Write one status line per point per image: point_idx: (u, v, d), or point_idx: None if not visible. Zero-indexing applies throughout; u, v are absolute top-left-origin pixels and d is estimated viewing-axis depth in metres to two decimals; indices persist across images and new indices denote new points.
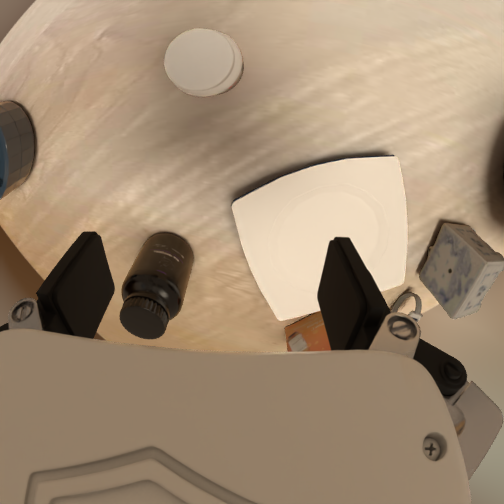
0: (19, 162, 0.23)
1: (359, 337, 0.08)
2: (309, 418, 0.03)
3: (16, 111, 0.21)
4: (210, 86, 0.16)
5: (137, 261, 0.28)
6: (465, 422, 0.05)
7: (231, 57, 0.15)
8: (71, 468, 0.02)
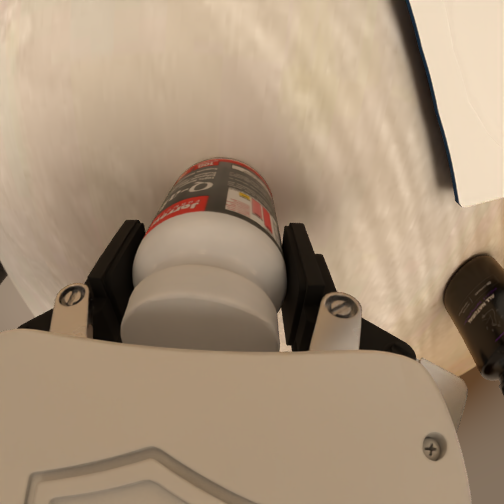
0: None
1: (302, 316, 0.08)
2: (309, 418, 0.03)
3: None
4: (272, 336, 0.07)
5: (469, 347, 0.16)
6: None
7: (187, 298, 0.06)
8: (71, 468, 0.02)
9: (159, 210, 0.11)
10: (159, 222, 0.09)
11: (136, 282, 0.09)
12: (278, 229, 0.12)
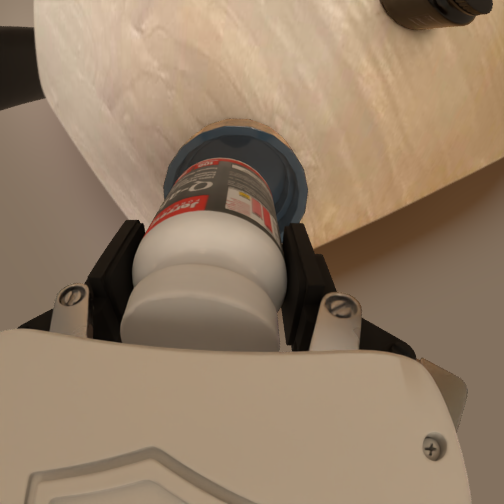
0: (262, 127, 0.23)
1: (302, 316, 0.08)
2: (309, 418, 0.03)
3: (194, 135, 0.25)
4: (272, 335, 0.07)
5: None
6: None
7: (187, 298, 0.06)
8: (71, 468, 0.02)
9: (159, 209, 0.11)
10: (159, 221, 0.09)
11: (136, 281, 0.09)
12: (278, 229, 0.12)
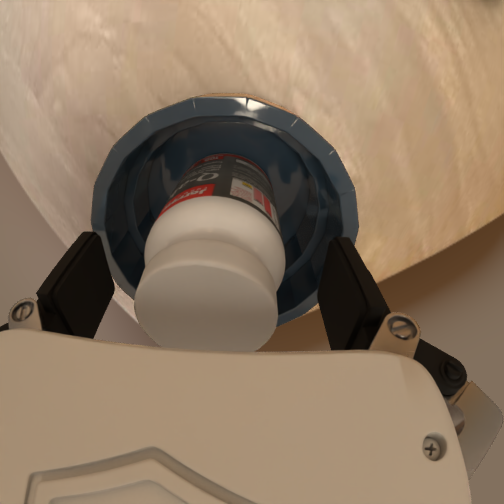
0: (273, 104, 0.11)
1: (359, 337, 0.08)
2: (309, 418, 0.03)
3: None
4: (270, 303, 0.08)
5: None
6: (465, 422, 0.05)
7: (197, 265, 0.07)
8: (71, 468, 0.02)
9: (169, 198, 0.12)
10: (170, 206, 0.10)
11: (148, 260, 0.10)
12: (277, 216, 0.13)
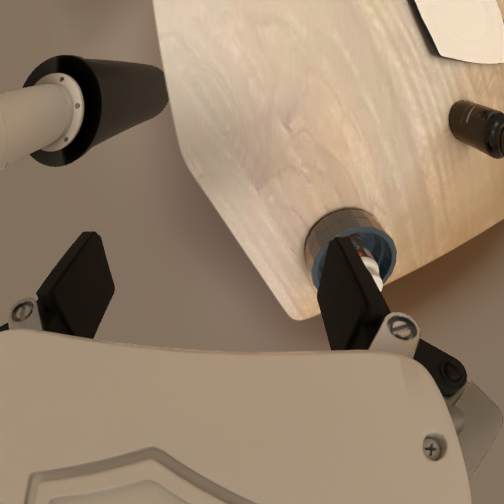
0: (375, 222, 0.36)
1: (359, 337, 0.08)
2: (309, 418, 0.03)
3: (327, 221, 0.37)
4: (382, 284, 0.33)
5: (472, 136, 0.26)
6: (465, 422, 0.05)
7: None
8: (71, 468, 0.02)
9: None
10: None
11: None
12: None
